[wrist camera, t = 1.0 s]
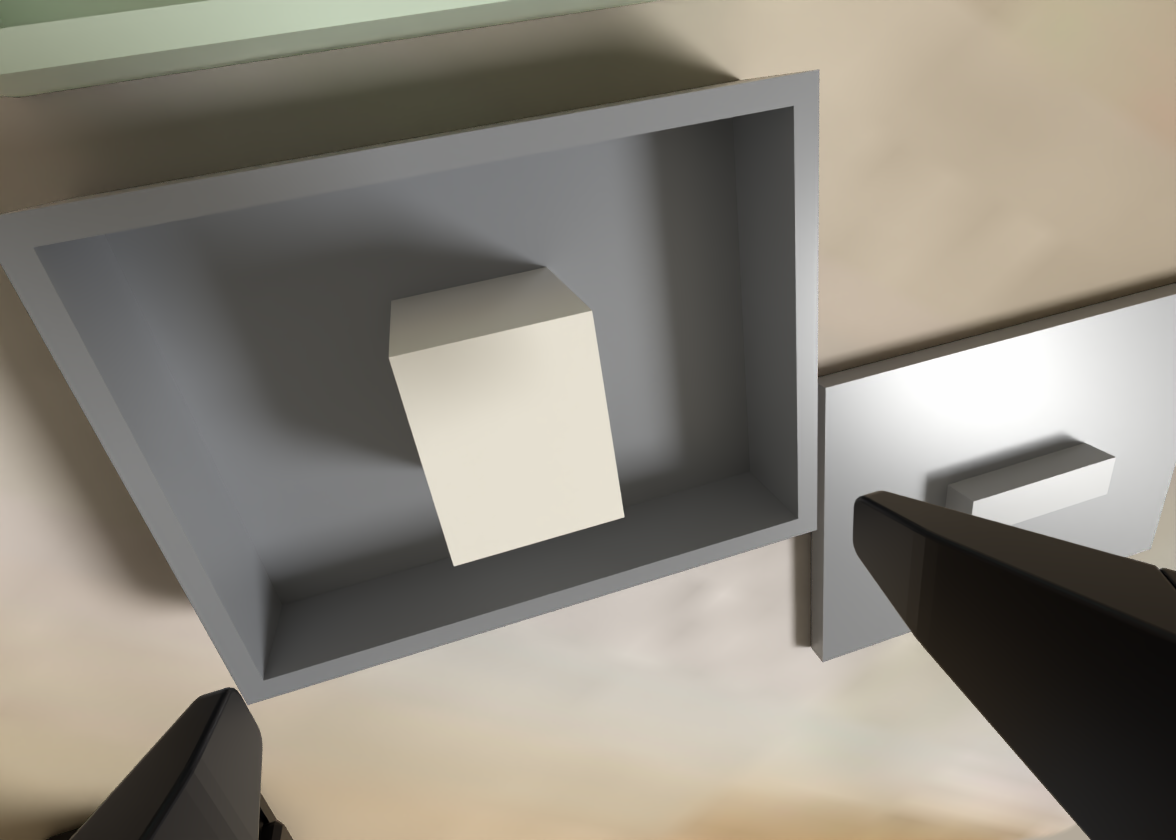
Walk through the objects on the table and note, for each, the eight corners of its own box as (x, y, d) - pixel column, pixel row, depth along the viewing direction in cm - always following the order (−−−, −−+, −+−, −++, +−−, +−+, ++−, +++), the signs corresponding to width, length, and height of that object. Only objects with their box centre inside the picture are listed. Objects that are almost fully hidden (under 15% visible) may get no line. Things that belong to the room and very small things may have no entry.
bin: (271, 613, 19) (247, 704, 16) (68, 198, 14) (-26, 219, 11) (758, 473, 22) (816, 529, 19) (742, 79, 17) (818, 69, 14)
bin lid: (811, 647, 26) (840, 685, 25) (811, 379, 21) (849, 402, 19) (1132, 538, 29) (1179, 565, 27) (1204, 274, 24) (1269, 287, 22)
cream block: (442, 471, 18) (454, 566, 14) (391, 300, 16) (388, 358, 12) (577, 435, 19) (624, 517, 15) (546, 267, 17) (592, 310, 13)
